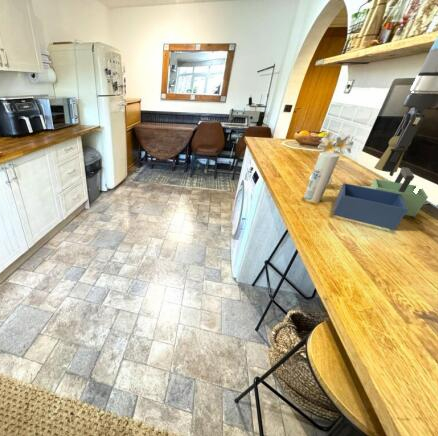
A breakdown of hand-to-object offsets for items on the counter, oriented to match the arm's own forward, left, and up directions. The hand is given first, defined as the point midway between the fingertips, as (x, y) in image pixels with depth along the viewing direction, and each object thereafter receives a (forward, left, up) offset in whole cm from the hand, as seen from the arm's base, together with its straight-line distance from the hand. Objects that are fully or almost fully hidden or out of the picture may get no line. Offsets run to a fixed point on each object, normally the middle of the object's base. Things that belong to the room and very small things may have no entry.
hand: (386, 168), depth 82 cm
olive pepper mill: (0, 0, -1) cm, 1 cm away
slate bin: (0, 0, -19) cm, 19 cm away
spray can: (+17, -4, -19) cm, 26 cm away
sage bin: (-9, -16, -19) cm, 26 cm away
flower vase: (+16, -24, -19) cm, 35 cm away
